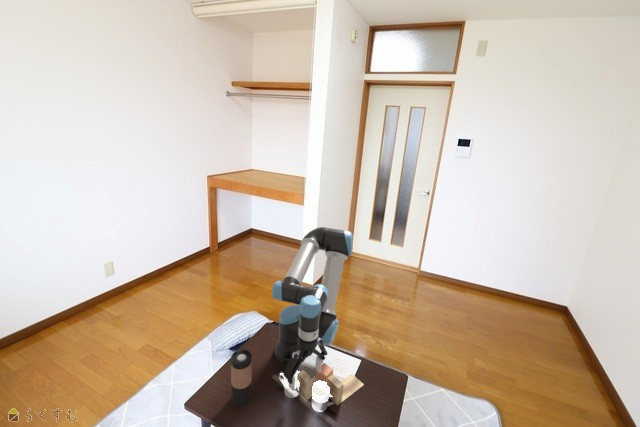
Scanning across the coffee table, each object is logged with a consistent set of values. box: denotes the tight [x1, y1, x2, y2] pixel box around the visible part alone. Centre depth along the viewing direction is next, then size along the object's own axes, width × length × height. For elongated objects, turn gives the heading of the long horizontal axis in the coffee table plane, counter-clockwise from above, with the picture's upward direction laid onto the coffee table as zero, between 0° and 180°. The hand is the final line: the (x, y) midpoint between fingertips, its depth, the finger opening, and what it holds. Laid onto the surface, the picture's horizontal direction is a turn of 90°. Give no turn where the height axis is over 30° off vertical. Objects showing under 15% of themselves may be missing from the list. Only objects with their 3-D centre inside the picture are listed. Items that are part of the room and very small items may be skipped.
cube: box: [315, 362, 334, 382], centre depth 128 cm, size 5×5×5 cm
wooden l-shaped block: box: [327, 373, 365, 406], centre depth 123 cm, size 7×16×9 cm, turn 132°
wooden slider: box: [296, 370, 318, 404], centre depth 124 cm, size 7×16×9 cm, turn 132°
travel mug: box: [230, 349, 253, 407], centre depth 115 cm, size 8×8×20 cm
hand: (305, 379), depth 120 cm, fingers open, 13 cm apart
